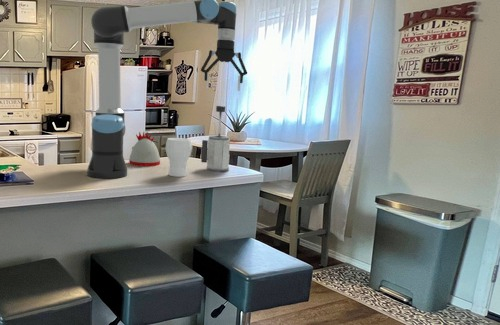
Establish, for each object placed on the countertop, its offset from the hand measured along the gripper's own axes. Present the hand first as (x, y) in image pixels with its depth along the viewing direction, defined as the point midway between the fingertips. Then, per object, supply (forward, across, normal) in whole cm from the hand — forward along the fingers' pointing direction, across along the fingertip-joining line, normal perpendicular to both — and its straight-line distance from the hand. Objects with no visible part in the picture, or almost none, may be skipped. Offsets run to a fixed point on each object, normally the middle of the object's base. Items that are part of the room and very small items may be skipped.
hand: (223, 89), depth 194 cm
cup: (+36, -17, -15) cm, 43 cm away
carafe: (+36, -2, +2) cm, 36 cm away
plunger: (+26, 0, +2) cm, 26 cm away
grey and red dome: (+36, -34, +8) cm, 51 cm away
